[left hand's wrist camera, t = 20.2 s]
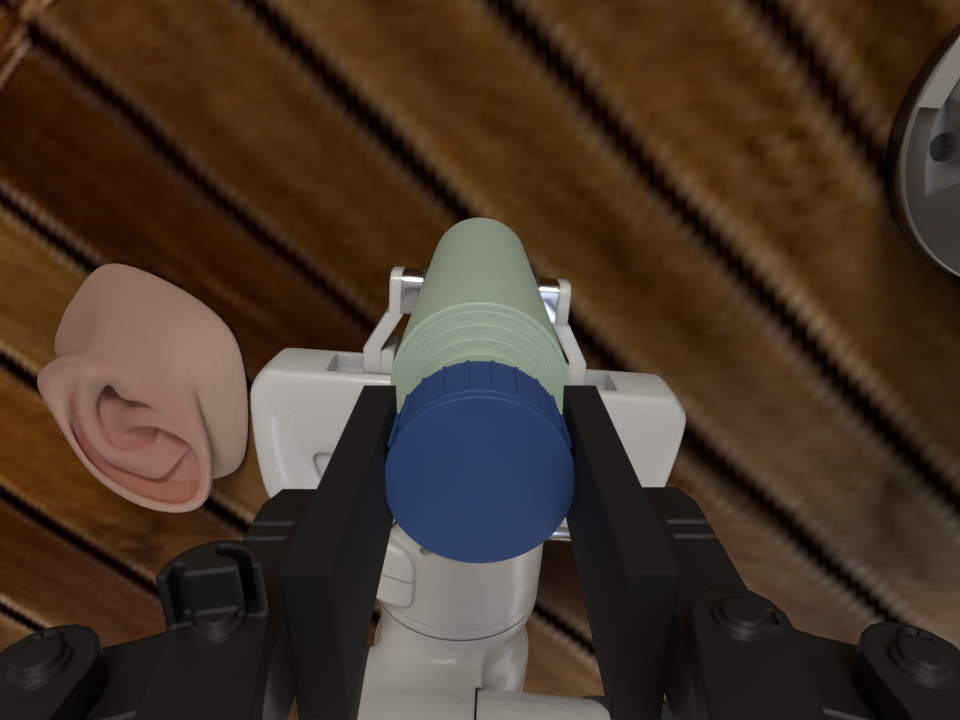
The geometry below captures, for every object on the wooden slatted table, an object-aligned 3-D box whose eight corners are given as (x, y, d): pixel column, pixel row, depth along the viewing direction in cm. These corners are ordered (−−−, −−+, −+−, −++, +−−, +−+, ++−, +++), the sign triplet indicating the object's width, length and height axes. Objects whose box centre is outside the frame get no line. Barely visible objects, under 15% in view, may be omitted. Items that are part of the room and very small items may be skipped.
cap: (363, 396, 14) (345, 437, 12) (528, 330, 14) (536, 363, 12) (436, 532, 16) (430, 589, 14) (589, 477, 15) (605, 528, 13)
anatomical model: (5, 262, 30) (242, 318, 31) (58, 247, 33) (267, 298, 34) (8, 489, 34) (214, 532, 35) (55, 454, 38) (240, 494, 39)
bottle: (540, 287, 34) (630, 522, 14) (457, 322, 35) (424, 596, 14) (504, 201, 33) (545, 321, 12) (418, 240, 34) (317, 417, 13)
